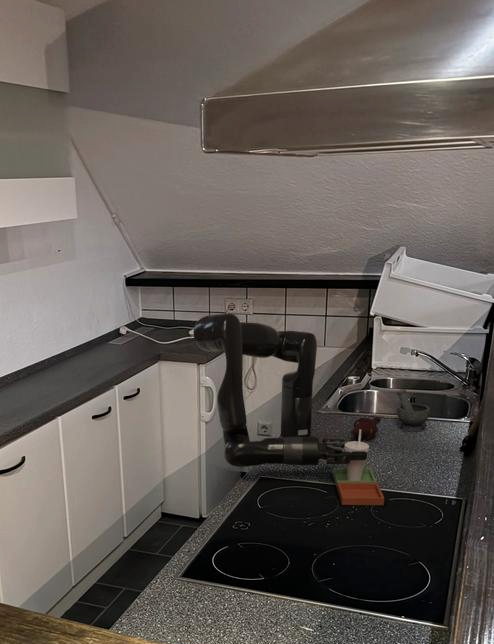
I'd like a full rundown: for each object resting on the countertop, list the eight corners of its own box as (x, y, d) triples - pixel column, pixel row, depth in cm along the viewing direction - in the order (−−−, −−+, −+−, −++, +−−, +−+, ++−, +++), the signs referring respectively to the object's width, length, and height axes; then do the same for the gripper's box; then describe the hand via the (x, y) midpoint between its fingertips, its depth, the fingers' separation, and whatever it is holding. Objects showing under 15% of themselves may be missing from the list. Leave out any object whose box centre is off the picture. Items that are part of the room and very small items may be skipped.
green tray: (332, 474, 208) (332, 467, 207) (370, 474, 207) (370, 467, 206) (336, 488, 199) (336, 481, 198) (376, 488, 198) (377, 481, 197)
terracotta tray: (336, 489, 198) (337, 482, 197) (377, 489, 197) (377, 482, 196) (341, 504, 188) (342, 497, 188) (383, 505, 188) (384, 498, 187)
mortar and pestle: (434, 428, 242) (437, 392, 238) (416, 435, 237) (420, 397, 233) (403, 421, 251) (407, 385, 246) (386, 427, 245) (389, 391, 241)
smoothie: (366, 484, 199) (371, 434, 194) (341, 483, 201) (345, 432, 195) (365, 475, 205) (370, 426, 200) (341, 474, 206) (345, 424, 201)
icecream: (365, 427, 225) (391, 420, 235) (344, 416, 229) (371, 410, 239) (357, 448, 228) (383, 440, 238) (337, 437, 233) (364, 429, 243)
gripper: (302, 446, 193) (370, 446, 192) (298, 429, 206) (361, 429, 205) (301, 473, 196) (367, 474, 194) (297, 455, 209) (359, 455, 208)
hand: (364, 451), depth 200 cm, fingers closed on smoothie, 6 cm apart
